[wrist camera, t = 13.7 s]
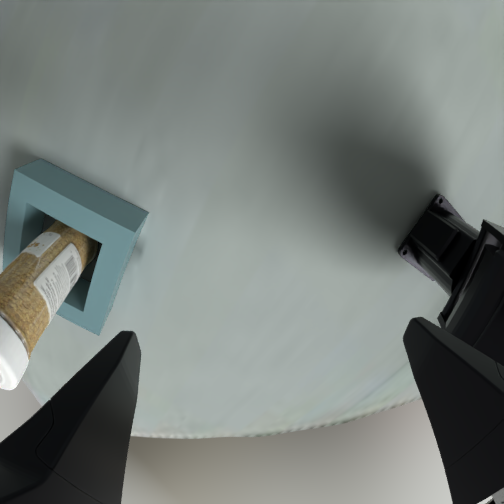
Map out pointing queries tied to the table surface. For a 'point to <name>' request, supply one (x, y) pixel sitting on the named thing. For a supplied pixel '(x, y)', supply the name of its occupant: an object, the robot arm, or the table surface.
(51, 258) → the sprinkles bottle
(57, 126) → the table surface
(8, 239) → the holder
